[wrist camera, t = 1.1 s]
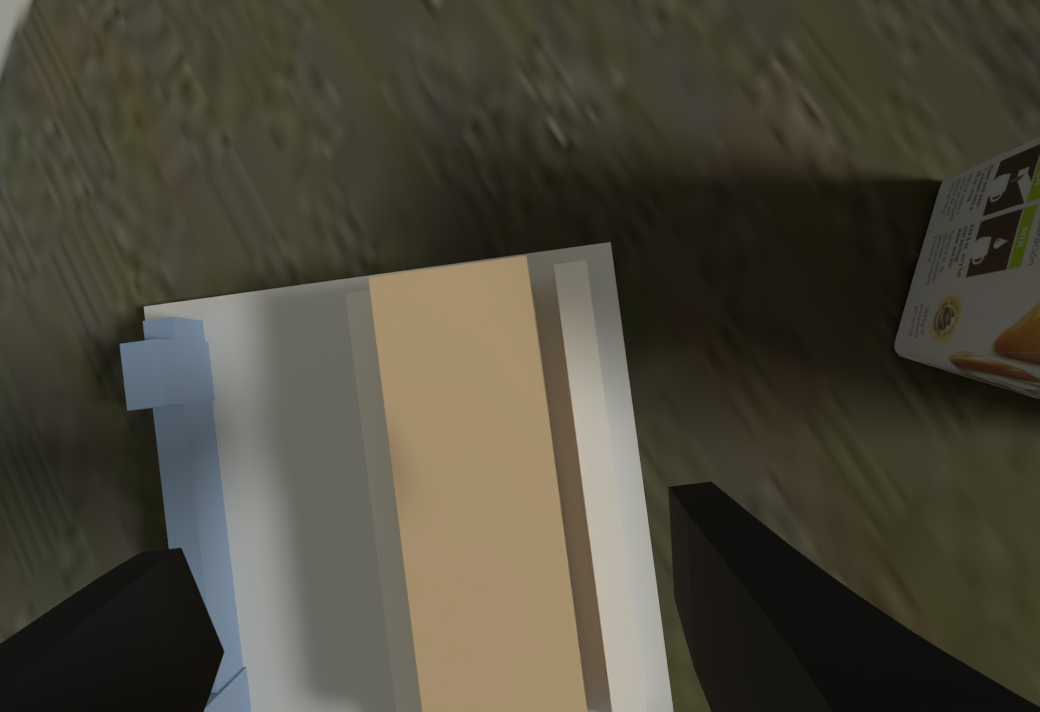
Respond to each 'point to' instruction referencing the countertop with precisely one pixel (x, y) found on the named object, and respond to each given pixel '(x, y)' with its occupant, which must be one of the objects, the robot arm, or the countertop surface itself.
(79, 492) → the countertop surface
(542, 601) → the tan bar
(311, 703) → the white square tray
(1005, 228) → the coffee box
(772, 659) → the robot arm
